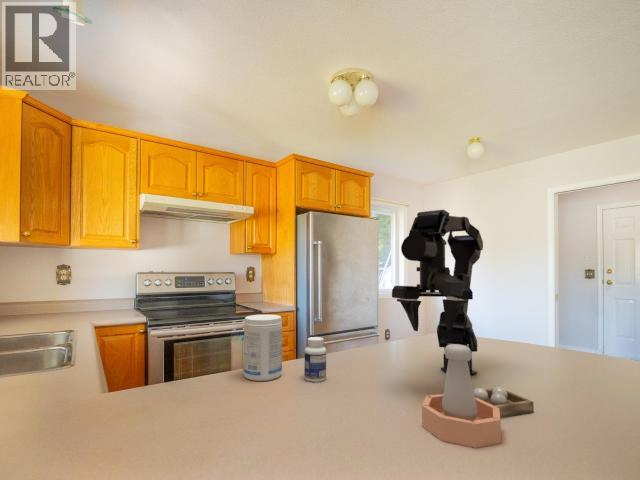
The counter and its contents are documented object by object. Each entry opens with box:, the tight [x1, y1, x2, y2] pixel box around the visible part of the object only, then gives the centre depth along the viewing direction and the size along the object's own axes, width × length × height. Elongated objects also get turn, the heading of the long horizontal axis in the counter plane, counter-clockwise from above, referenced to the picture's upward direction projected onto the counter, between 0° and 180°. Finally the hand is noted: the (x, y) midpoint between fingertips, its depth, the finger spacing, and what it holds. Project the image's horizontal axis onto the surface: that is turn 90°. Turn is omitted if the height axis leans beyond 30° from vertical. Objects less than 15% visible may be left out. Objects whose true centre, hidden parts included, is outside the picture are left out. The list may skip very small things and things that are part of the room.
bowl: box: [421, 393, 502, 449], centre depth 58 cm, size 12×12×4 cm
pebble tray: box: [484, 387, 535, 419], centre depth 67 cm, size 10×8×2 cm
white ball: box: [492, 386, 508, 399], centre depth 68 cm, size 3×3×3 cm
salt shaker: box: [442, 344, 478, 421], centre depth 59 cm, size 6×6×13 cm
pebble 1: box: [473, 387, 488, 402], centre depth 68 cm, size 3×3×3 cm
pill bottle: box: [303, 336, 327, 383], centre depth 83 cm, size 5×5×10 cm
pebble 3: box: [491, 393, 507, 406], centre depth 65 cm, size 3×3×3 cm
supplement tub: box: [243, 314, 283, 382], centre depth 85 cm, size 10×10×15 cm
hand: (432, 330), depth 78 cm, fingers open, 9 cm apart
